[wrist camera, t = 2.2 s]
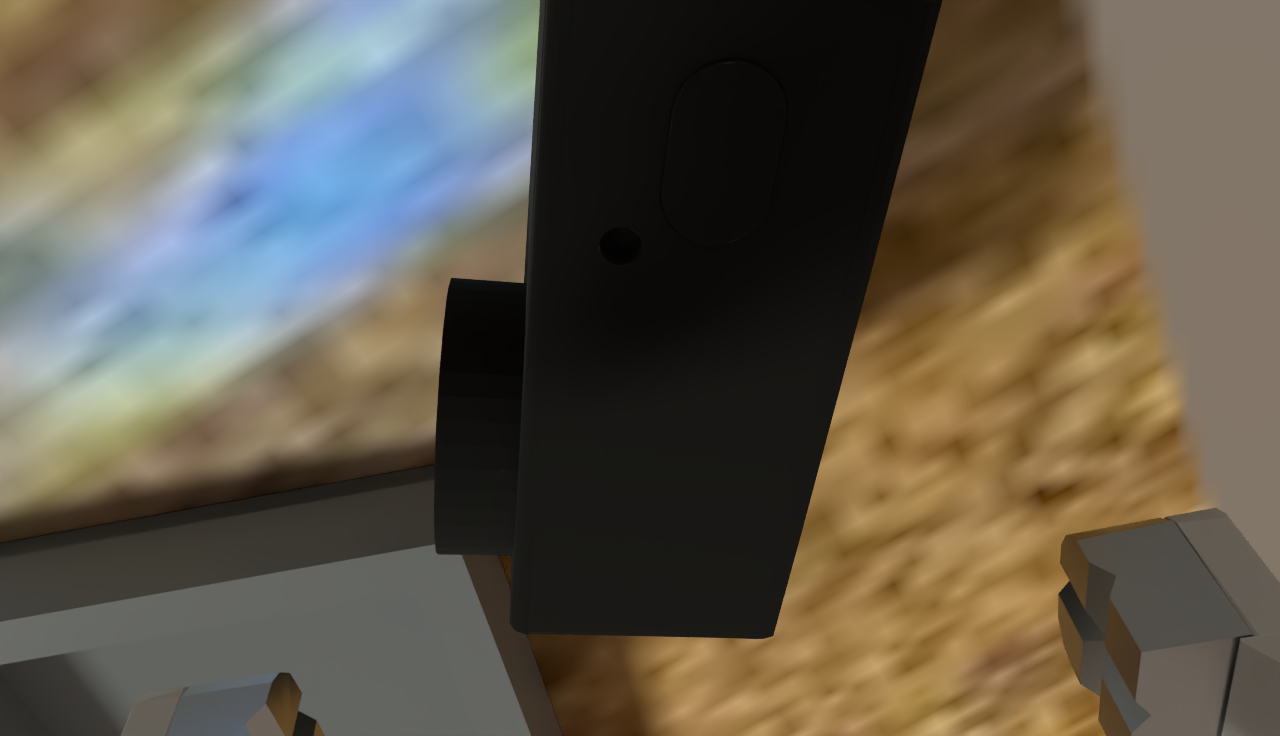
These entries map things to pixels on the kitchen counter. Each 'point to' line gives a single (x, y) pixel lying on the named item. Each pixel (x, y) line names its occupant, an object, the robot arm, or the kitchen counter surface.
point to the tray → (269, 616)
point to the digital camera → (674, 307)
